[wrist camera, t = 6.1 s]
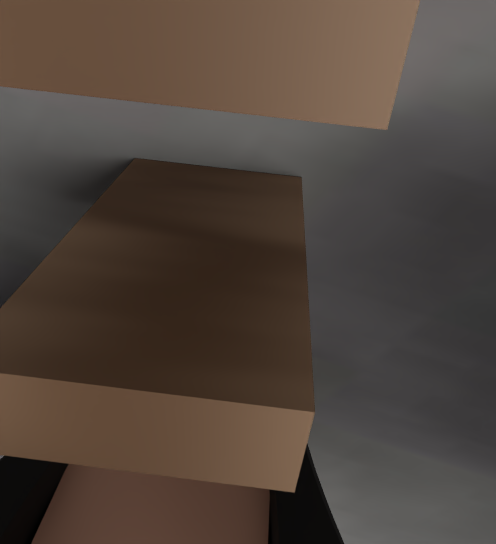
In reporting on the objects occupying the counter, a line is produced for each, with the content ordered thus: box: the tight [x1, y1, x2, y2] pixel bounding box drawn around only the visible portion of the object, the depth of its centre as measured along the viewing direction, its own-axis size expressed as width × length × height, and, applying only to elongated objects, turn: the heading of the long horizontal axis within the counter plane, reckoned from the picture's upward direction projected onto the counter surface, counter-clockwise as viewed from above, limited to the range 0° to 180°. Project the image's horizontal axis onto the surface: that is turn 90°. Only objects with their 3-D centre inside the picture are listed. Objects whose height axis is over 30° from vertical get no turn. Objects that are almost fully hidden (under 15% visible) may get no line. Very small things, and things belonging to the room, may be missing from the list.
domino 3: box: [0, 158, 315, 492], centre depth 8 cm, size 4×2×7 cm, turn 85°
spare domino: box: [31, 464, 270, 544], centre depth 10 cm, size 4×2×7 cm, turn 85°
